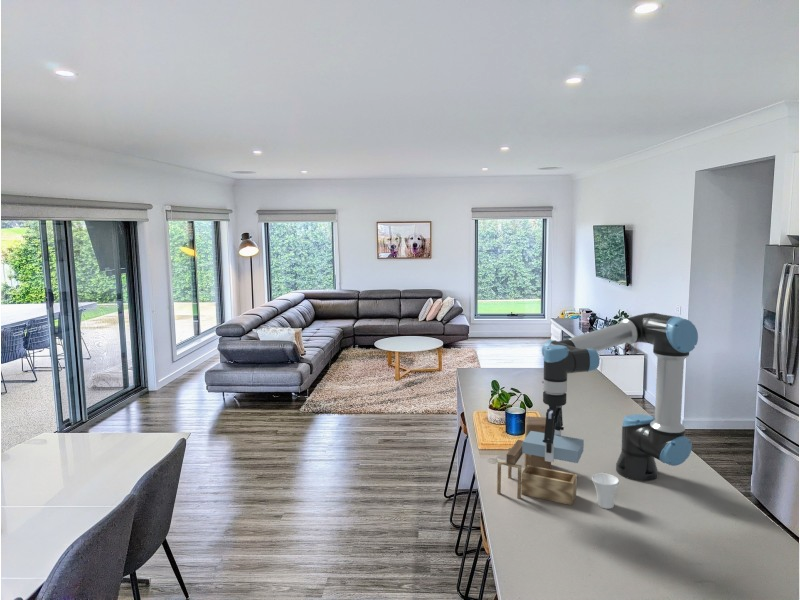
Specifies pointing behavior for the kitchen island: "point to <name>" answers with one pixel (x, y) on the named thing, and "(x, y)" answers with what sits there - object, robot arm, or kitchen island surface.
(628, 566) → the kitchen island surface
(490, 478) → the kitchen island surface
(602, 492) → the cup
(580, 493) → the kitchen island surface
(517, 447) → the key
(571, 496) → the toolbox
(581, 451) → the lid
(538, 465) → the wooden block
